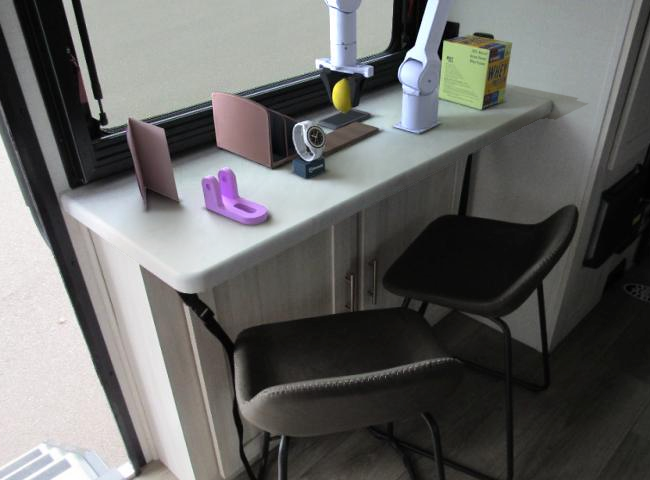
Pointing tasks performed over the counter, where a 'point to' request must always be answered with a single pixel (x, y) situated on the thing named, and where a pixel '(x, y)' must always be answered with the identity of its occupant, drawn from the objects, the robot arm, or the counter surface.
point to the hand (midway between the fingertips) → (344, 104)
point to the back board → (346, 136)
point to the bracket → (230, 199)
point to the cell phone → (344, 119)
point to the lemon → (342, 96)
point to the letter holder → (253, 130)
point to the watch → (316, 142)
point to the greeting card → (151, 158)
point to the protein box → (474, 71)
